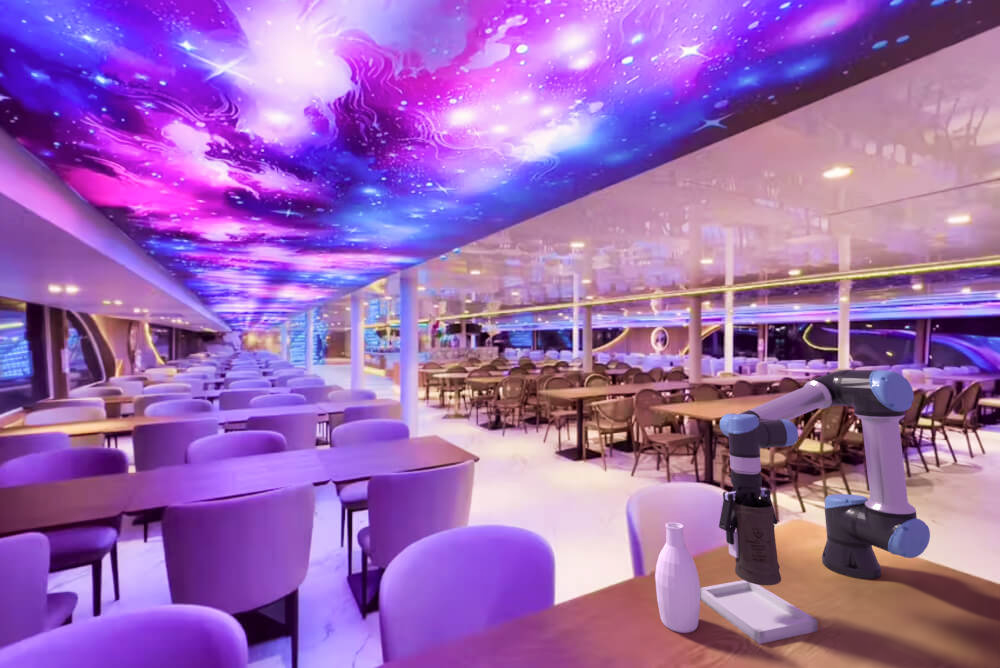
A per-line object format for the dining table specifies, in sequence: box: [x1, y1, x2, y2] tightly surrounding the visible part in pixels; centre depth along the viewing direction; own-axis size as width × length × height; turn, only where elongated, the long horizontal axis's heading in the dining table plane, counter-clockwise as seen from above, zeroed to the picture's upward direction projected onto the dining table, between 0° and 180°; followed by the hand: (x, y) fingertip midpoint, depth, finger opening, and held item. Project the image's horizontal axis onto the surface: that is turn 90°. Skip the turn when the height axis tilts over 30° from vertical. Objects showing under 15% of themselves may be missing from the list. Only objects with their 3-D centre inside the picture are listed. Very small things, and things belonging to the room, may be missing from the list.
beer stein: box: [733, 498, 782, 586], centre depth 123 cm, size 15×11×20 cm
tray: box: [700, 579, 819, 645], centre depth 122 cm, size 18×22×3 cm
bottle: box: [654, 521, 701, 634], centre depth 119 cm, size 11×11×25 cm
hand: (750, 553), depth 123 cm, fingers closed on beer stein, 10 cm apart
